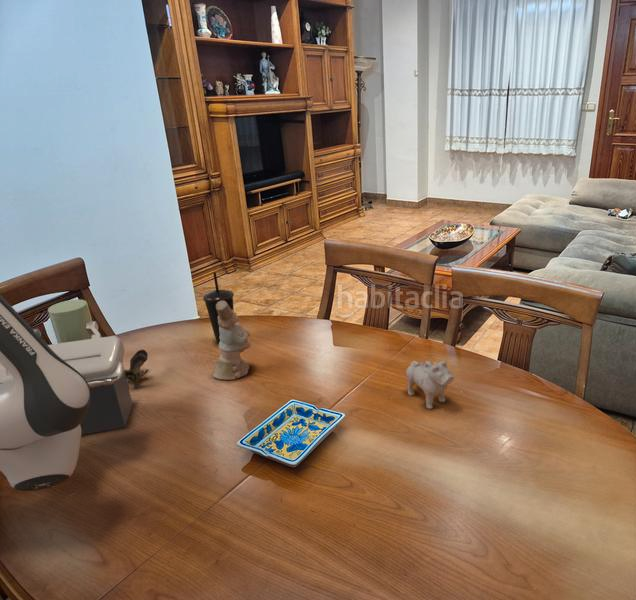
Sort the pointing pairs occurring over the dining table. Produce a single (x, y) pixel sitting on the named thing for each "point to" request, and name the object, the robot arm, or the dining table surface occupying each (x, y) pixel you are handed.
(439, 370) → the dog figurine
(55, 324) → the green cup
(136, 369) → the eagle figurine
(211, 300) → the drinking cup
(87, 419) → the stand
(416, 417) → the dining table surface
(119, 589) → the dining table surface
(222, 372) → the figurine
